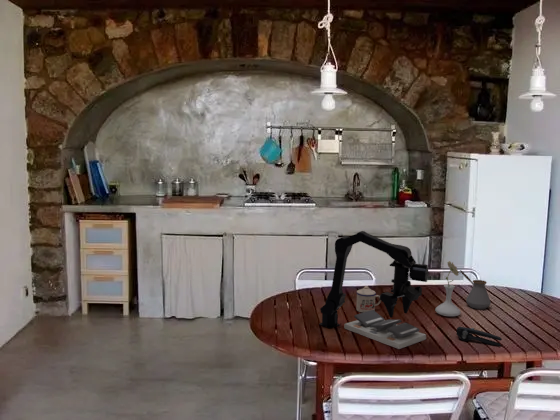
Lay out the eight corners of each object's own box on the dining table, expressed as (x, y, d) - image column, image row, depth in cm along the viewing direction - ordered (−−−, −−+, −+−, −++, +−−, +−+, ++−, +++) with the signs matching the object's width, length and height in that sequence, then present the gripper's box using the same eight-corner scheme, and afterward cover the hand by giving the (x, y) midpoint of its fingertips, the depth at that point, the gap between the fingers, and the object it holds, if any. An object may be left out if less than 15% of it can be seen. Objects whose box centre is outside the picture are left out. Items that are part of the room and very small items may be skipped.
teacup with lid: (359, 313, 252) (360, 289, 251) (353, 307, 261) (354, 284, 260) (383, 313, 254) (384, 288, 253) (377, 307, 263) (378, 283, 262)
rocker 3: (400, 337, 214) (401, 334, 213) (386, 330, 219) (387, 328, 219) (419, 331, 221) (419, 328, 221) (405, 324, 226) (405, 322, 226)
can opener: (453, 340, 221) (454, 327, 221) (457, 335, 227) (458, 322, 227) (500, 349, 213) (501, 335, 212) (502, 344, 219) (503, 330, 218)
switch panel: (398, 349, 210) (399, 340, 210) (344, 328, 232) (344, 320, 232) (425, 339, 221) (426, 331, 221) (371, 320, 244) (371, 313, 243)
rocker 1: (365, 326, 228) (366, 324, 227) (354, 316, 232) (354, 314, 232) (383, 321, 235) (384, 318, 235) (372, 311, 240) (373, 309, 240)
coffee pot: (495, 309, 263) (497, 279, 261) (475, 311, 260) (477, 280, 258) (467, 297, 283) (469, 269, 281) (448, 298, 280) (450, 270, 278)
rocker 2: (383, 327, 220) (382, 325, 220) (370, 327, 226) (369, 324, 226) (401, 322, 228) (401, 319, 228) (388, 321, 233) (388, 319, 233)
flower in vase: (461, 319, 247) (465, 266, 244) (435, 317, 249) (439, 264, 246) (458, 310, 260) (461, 259, 257) (433, 308, 262) (436, 258, 259)
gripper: (402, 286, 207) (399, 325, 209) (431, 279, 218) (428, 316, 221) (380, 279, 215) (377, 317, 217) (409, 273, 227) (406, 309, 229)
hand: (398, 315), depth 221 cm, fingers open, 9 cm apart
